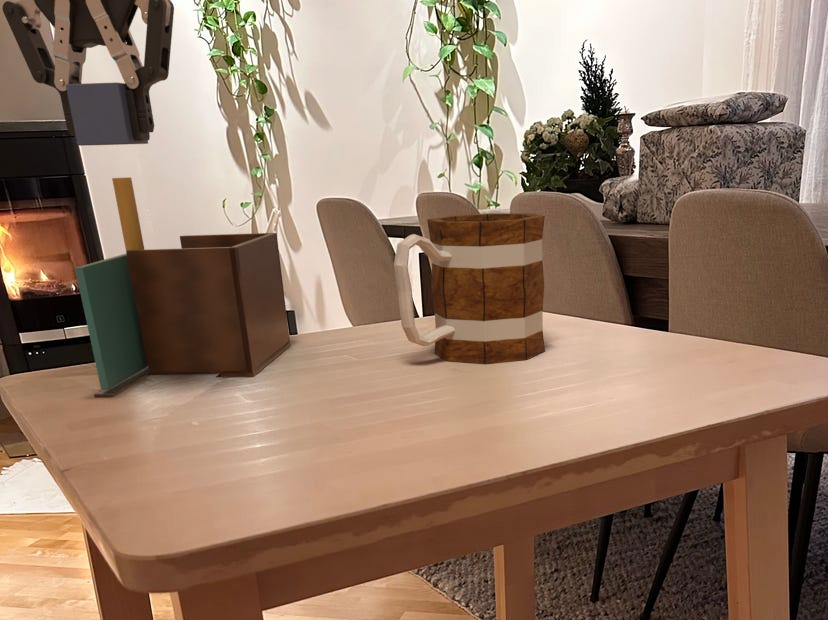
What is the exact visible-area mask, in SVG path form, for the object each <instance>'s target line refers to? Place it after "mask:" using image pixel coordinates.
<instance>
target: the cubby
mask: <svg viewBox="0 0 828 620" xmlns="http://www.w3.org/2000/svg"><path fill="white" fill-rule="evenodd" d="M179 240H180V246H181V247H180V248H156V249H155V248H154V249H152V248H151V249H144V250H127V251H126V250H125V254H127V259H128V264H129V269H130V274H131V280H132V285H133V290H134V295H135V300H136V306H137V311H138V316H139V321H140V327H141V332H142V337H143V342H144V347H145V353H146V358H147V363H148V367H146V368H144V369H143V370H141V371H139V372H138V373H136V374H134V375H132V376H131V377H129V378H127V379H126V380H124V381H122V382H120V383H119V384H117V385H115V386H114V387H112V388H110V389H108V390H101V389H100V390H99V391H97V392H96V393H94V394H93V397H94V398H95V399H101V398H102V399H103V398H105V399H106V398H107V399H108V398H115V397H117V396H118V395H119V394H121V393H123V392H124V391H126V390H128V389H129V388H131V387H133V386H135V385H136V384H138V383H139V382H141V381H142V380H144V379H145V378H148V377H150V376H177V375H179V376H181V375H216V376H214V378H216V379H217V378H254V377H255V376H256V375H257V374H259V373H260V372H261V371H262V370H264V368H267V366H268V365H269V364H271V363H272V362H273V361H274V360H275V359H276V358H278V357H279V356H280V355H282V354H283V353H284V352H285V351H286V350H287V349H288V348H291V339H290V332H289V331H290V330H289V322H288V315H287V306H286V298H285V291H284V283H283V275H282V274H283V273H282V266H281V257H280V249H279V242H278V241H279V240H278V234H277V232H259V233H255V232H253V233H227V234H226V233H224V234H223V233H222V234H191V235H186V234H185V235H179Z"/></svg>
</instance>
